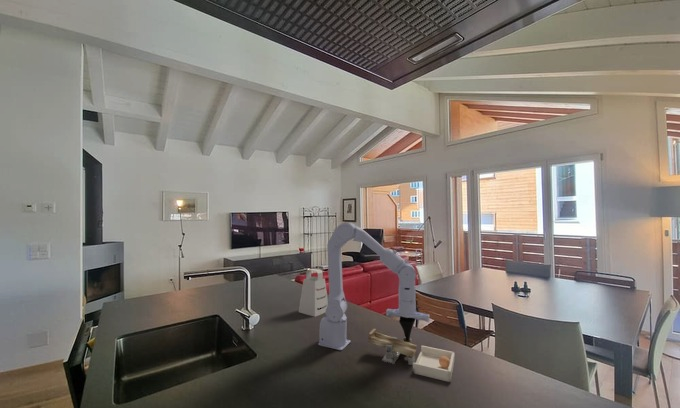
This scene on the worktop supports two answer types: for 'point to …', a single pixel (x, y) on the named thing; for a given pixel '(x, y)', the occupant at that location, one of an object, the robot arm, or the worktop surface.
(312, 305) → the grater
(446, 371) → the dish
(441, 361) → the egg
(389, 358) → the pivot base
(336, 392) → the worktop surface
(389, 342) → the lever
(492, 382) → the worktop surface
